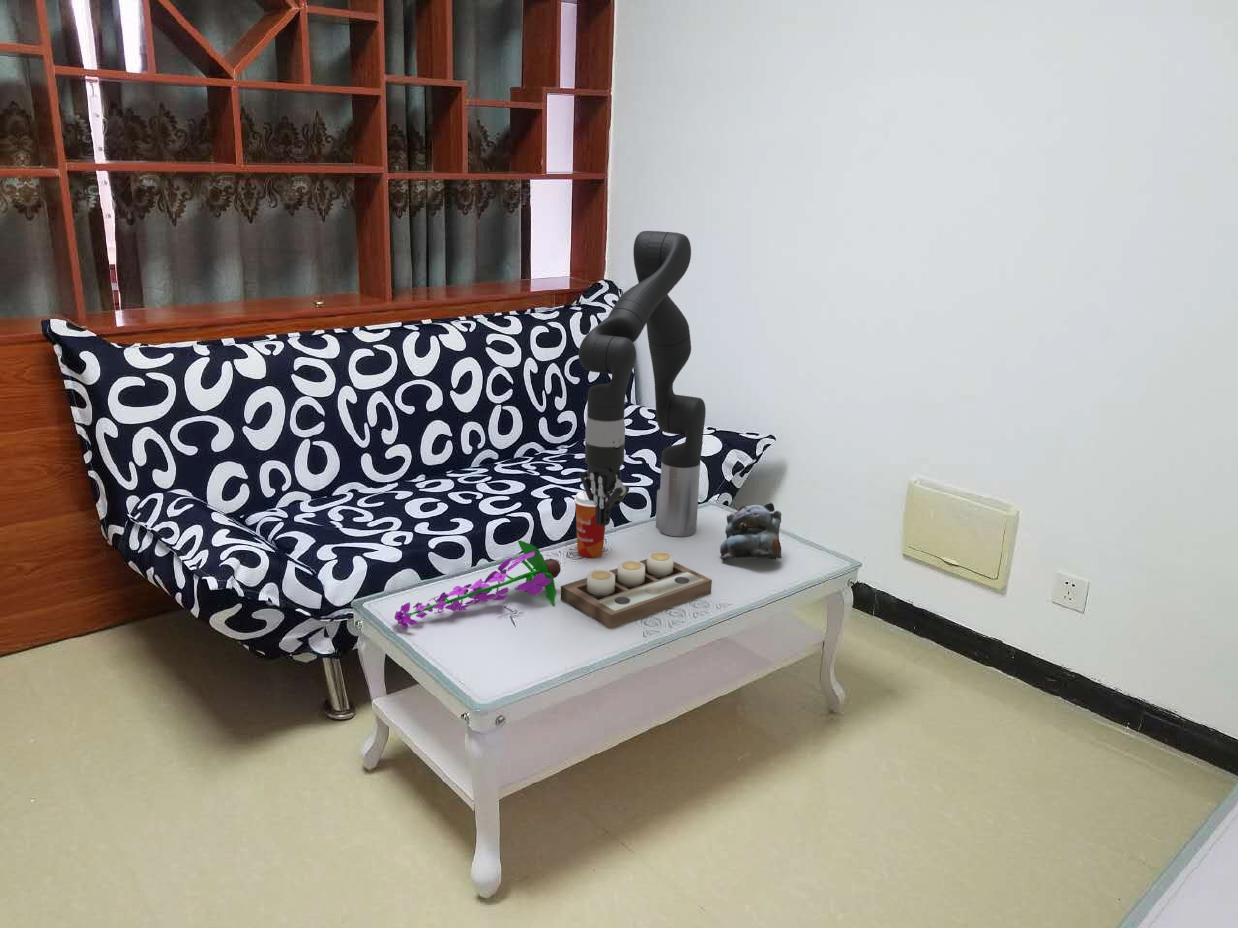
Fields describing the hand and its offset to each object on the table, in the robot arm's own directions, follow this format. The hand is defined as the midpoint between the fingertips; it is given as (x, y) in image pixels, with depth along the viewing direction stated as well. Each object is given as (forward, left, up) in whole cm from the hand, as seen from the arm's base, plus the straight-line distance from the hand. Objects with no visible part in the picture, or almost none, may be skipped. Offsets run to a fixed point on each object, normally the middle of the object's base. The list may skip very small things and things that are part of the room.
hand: (602, 524), depth 189 cm
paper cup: (-21, +14, -17) cm, 31 cm away
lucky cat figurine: (+1, +42, -17) cm, 45 cm away
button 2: (0, +16, -14) cm, 21 cm away
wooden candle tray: (+2, +8, -17) cm, 19 cm away
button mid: (0, +8, -14) cm, 16 cm away
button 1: (0, 0, -14) cm, 14 cm away
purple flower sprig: (-11, -20, -18) cm, 29 cm away
